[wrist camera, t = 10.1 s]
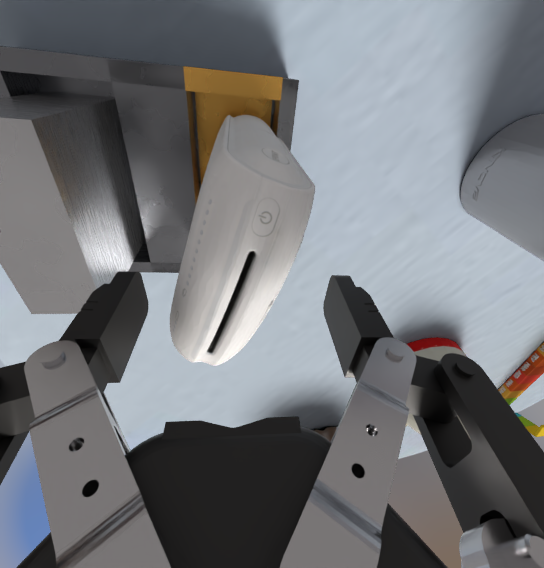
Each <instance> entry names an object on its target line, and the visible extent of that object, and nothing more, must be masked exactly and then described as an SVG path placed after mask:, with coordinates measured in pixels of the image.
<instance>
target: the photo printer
mask: <svg viewBox="0 0 544 568" xmlns="http://www.w3.org/2000/svg"><path fill="white" fill-rule="evenodd" d="M314 193H315V186H314V184H313V182H312V181H311V180H310V178H309V177H308V176H307V174H306V173H305V171H304V170H303V169H302V167H301V166H300V165H299V163H298V162H297V160H296V159H295V158H294V156H293V155H292V153H291V152H290V151H289V149H288V148H287V147H286V145H285V144H284V142H283V141H282V140H281V139H280V138H278V137H276V136H275V134H274V133H273V131H272V130H271V128H270V127H269V126H268V125H267V124H266V123H265V122H264V121H263V120H261V119H260V118H258V117H255V116H251V115H240V116H236V117H232V116H230V115H228V116H227V117H226V118H225V120H224V122H223V124H222V126H221V128H220V130H219V132H218V135H217V138H216V140H215V143H214V146H213V149H212V152H211V155H210V159H209V162H208V165H207V168H206V172H205V175H204V178H203V182H202V185H201V188H200V192H199V196H198V199H197V203H196V207H195V211H194V215H193V219H192V223H191V227H190V231H189V235H188V240H187V244H186V248H185V251H184V255H183V259H182V263H181V267H180V271H179V275H178V279H177V284H176V288H175V292H174V297H173V302H172V307H171V313H170V331H171V337H172V341H173V343H174V346H175V347H176V349H177V350H178V352H179V353H180V354H181V355H182V356H183V357H184V358H185V359H187V360H188V361H190V362H205V363H208V364H210V365H212V366H216V365H220V364H222V363H224V362H226V361H227V360H229V359H230V358H232V357H233V356H234V355H235V354H237V353H238V352H239V351H240V350H241V349H242V348H243V347H244V346H245V345H246V343H247V342H248V341H249V340H250V338H251V337H252V336H253V335H254V333H255V332H256V330H257V329H258V327H259V326H260V324H261V323H262V321H263V320H264V319H265V317H266V315H267V313H268V311H269V310H270V308H271V307H272V305H273V302H274V301H275V299H276V297H277V295H278V293H279V291H280V289H281V287H282V285H283V283H284V281H285V279H286V277H287V275H288V273H289V271H290V269H291V266H292V264H293V262H294V260H295V257H296V255H297V253H298V250H299V248H300V245H301V243H302V240H303V237H304V232H305V230H306V227H307V223H308V220H309V217H310V213H311V209H312V204H313V199H314Z"/></svg>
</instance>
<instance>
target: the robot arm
mask: <svg viewBox="0 0 544 568" xmlns="http://www.w3.org/2000/svg"><path fill="white" fill-rule="evenodd" d="M461 202H462V205H463V208H464V209H465V210H466V212H467V213H468V214H470V215H471V216H473V217H474V218H476V219H477V220H479V221H481V222H482V223H484V224H485V225H487V226H489V227H490V228H492V229H493V230H495V231H496V232H498V233H499V234H501V235H502V236H504V237H506V238H507V239H509V240H511V241H512V242H514V243H515V244H517V245H519V246H520V247H522V248H523V249H525V250H527V251H528V252H530V253H531V254H533V255H535V256H536V257H538V258H539V259H541V260H543V261H544V114H537V115H531V116H528V117H525V118H522V119H520V120H518V121H516V122H514V123H512V124H510V125H509V126H507V127H505V128H504V129H503V130H501V131H500V132H499V133H497V134H496V135H495V136H494V137H493V138H491V139H490V140H489V141H488V142H487V143H486V144H485V145H484V146H483V148H482V149H481V150H480V151H479V153H478V154H477V155H476V156H475V158H474V159H473V161H472V163H471V164H470V166H469V168H468V169H467V172H466V174H465V176H464V179H463V182H462V187H461ZM374 304H375V303H374V302H373V300H372V298H371V296H370V295H369V294H368V293H367V292H366V291H365V290H364V289H362V288H361V287H356V286H355V285H354V283H353V281H352V279H351V277H350V276H339V275H332V276H331V278H330V281H329V285H328V288H327V292H326V296H325V300H324V315H325V319H326V322H327V325H328V328H329V331H330V334H331V337H332V340H333V343H334V346H335V349H336V352H337V355H338V358H339V361H340V364H341V367H342V370H343V373H344V376H345V378H347V377H355V379H356V382H357V384H356V386H355V388H354V391H353V393H352V395H351V398H350V400H349V402H348V404H347V407H346V409H345V411H344V413H343V416H342V418H341V420H340V422H339V425H338V427H337V429H336V431H335V434H334V436H333V438H332V440H331V442H330V441H329V440H328V439H326V438H325V437H323V436H322V435H320V434H319V433H317V432H315V431H313V430H310V429H308V428H305V427H301V426H300V421H299V417H275V418H265V419H262V420H259V421H256V422H253V423H249V424H246V425H243V426H240V427H236V428H230V427H225V426H221V425H217V424H212V423H208V422H204V421H179V422H166V424H165V428H164V433H161V434H158V435H156V436H154V437H151V438H149V439H148V440H146V441H144V442H142V443H141V444H139V445H138V446H136V447H135V448H133V449H132V450H130V448H129V446H128V444H127V442H126V440H125V438H124V436H123V434H122V431H121V429H120V427H119V425H118V422H117V420H116V418H115V416H114V413H113V411H112V409H111V407H110V404H109V402H108V400H107V398H106V396H105V394H104V390H105V388H106V385H107V383H120V381H121V378H122V376H123V373H124V371H125V368H126V366H127V363H128V361H129V358H130V356H131V353H132V351H133V348H134V346H135V343H136V341H137V338H138V336H139V333H140V331H141V328H142V326H143V324H144V321H145V319H146V316H147V313H148V299H147V295H146V291H145V288H144V284H143V280H142V276H141V274H140V272H128V271H119V272H117V273H116V275H115V276H114V278H113V279H112V281H111V282H110V284H103V285H101V286H100V287H99V288H97V289H96V290H95V291H93V292H92V294H91V295H90V296H89V298H88V299H87V301H86V303H85V304H84V305H83V307H82V308H81V311H79V312H78V314H77V315H76V317H75V318H74V320H73V321H72V323H71V324H70V325H69V327H68V328H67V330H66V331H65V333H64V334H63V336H62V337H61V338H60V340H59V341H56V342H53V343H50V344H47V345H45V346H43V347H41V348H40V349H38V350H37V351H35V352H34V353H33V354H32V355H31V356H30V357H29V358H28V359H27V361H26V362H23V363H19V364H15V365H10V366H6V367H2V368H0V485H1V483H2V481H3V479H4V477H5V475H6V473H7V472H8V470H9V468H10V466H11V464H12V462H13V460H14V459H15V456H16V455H17V453H18V451H19V449H20V447H21V446H22V444H23V442H24V440H25V438H26V436H27V434H28V432H29V431H30V435H31V440H32V444H33V449H34V454H35V458H36V463H37V468H38V473H39V478H40V483H41V487H42V492H43V497H44V501H45V506H46V511H47V515H48V521H49V525H50V530H51V532H50V533H49V535H48V536H47V537H46V538H45V539H44V540H43V541H42V542H41V543H40V544H39V545H38V546H37V547H36V548H35V549H34V550H33V551H32V552H31V553H30V554H29V555H28V556H27V557H26V558H25V559H24V560H23V561H22V562H21V563H20V565H19V566H18V567H17V568H447V566H446V565H444V563H443V562H442V561H441V560H440V559H439V558H438V557H437V556H436V555H435V553H434V552H433V551H432V550H431V549H430V548H429V547H428V546H427V545H426V544H425V543H424V542H423V541H422V540H421V538H420V537H419V536H418V535H417V534H416V533H415V532H414V531H413V530H412V529H411V528H410V526H409V525H408V524H407V523H406V522H405V521H404V520H403V519H402V518H401V517H400V516H399V515H398V513H396V511H395V510H394V509H393V508H392V507H391V506H390V505H389V504H388V499H389V495H390V491H391V486H392V482H393V478H394V474H395V469H396V465H397V461H398V457H399V452H400V448H401V444H402V440H403V436H404V431H405V427H406V423H407V419H408V414H412V415H413V417H414V419H415V421H416V424H417V426H418V428H419V431H420V433H421V435H422V437H423V440H424V442H425V444H426V447H427V449H428V451H429V454H430V456H431V458H432V461H433V463H434V465H435V468H436V470H437V472H438V474H439V477H440V479H441V481H442V484H443V486H444V488H445V490H446V493H447V495H448V498H449V500H450V502H451V505H452V507H453V509H454V511H455V514H456V516H457V518H458V521H459V523H460V525H461V527H462V530H463V532H464V534H463V535H462V537H461V540H460V556H461V560H462V561H461V566H462V568H544V452H543V451H542V449H541V448H540V446H539V445H538V444H537V442H536V441H535V440H534V438H533V437H532V436H531V434H530V433H529V432H528V430H527V429H526V427H525V426H524V425H523V423H522V422H521V421H520V419H519V418H518V417H517V415H516V414H515V412H514V411H513V410H512V408H511V407H510V406H509V404H508V403H507V402H506V400H505V399H504V398H503V396H502V395H501V393H500V392H499V391H498V389H497V388H496V387H495V385H494V384H493V383H492V381H491V380H490V379H489V377H488V376H487V374H486V373H485V372H484V370H483V369H482V368H481V367H480V366H479V365H478V364H477V363H475V362H474V361H473V360H471V359H469V358H468V357H465V356H463V355H460V354H456V353H448V354H445V355H444V356H443V357H442V358H441V360H440V361H436V360H433V359H429V358H425V357H421V356H417V355H415V353H414V352H413V350H412V349H411V348H410V347H409V346H408V345H407V344H405V343H404V342H402V341H400V340H398V339H395V338H394V337H393V335H392V334H391V332H390V330H389V328H388V327H387V325H386V323H385V321H384V319H383V318H382V316H381V314H380V312H378V309H377V307H376V305H374ZM457 415H458V416H457ZM458 417H459V418H458ZM459 419H460V420H461V422H462V424H463V425H462V424H461V422H460V420H459ZM463 426H464V427H465V429H466V431H467V432H466V431H465V429H464V427H463ZM467 433H468V434H467ZM468 435H469V436H468ZM469 437H470V438H469ZM470 439H471V440H470Z"/></svg>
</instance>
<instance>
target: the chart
mask: <svg viewBox="0 0 544 568" xmlns="http://www.w3.org/2000/svg"><path fill="white" fill-rule="evenodd" d="M543 373H544V342H543V343H542V344H541V345H540V346H539V347H538V348H537V350H536V351H535V352H534V353H533V354H532V355H531V356H530V357H529V358H528V359H527V360H526V361H525V362H524V363H523V364H522V365H521V366H520V367H519V368H518V369H517V370H516V372H515V373H514V374H513V375H512V376H511V377H510V378H509V379H508V380H507V381H506V382H505V383H504V384H503V385H502V386H501V387H500V388H499V389H498V391H499V392H500V393H501V395H502V396H503V398H504V399H505V400H506V402H507V403H508V404H509V405H510V404H511V403H512V402H513V401H514V400H515V399H517V397H518V396H519V395H521V394H522V393H523V392H524V391H525V390H526V389H527V388H528V387H529V386H530V385H531V384H532V383H533V382H534V381H536V380H537V379H538V378H539V377H540V376H541V375H542V374H543ZM515 414H516V415H517V417H518V418H519V419H520V421H521V422H522V423H523V425H524V426H525V427H526V429H527V430H528V432H530V433H531V434H532V435H534V436H536V437H540V436H544V425H541V426H540V427H538V426H537V425H535V424H533V423H532V422H530V421H529V420H527V419H526V418H524V417H523V416H521V415H520V414H518V413H515Z"/></svg>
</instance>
